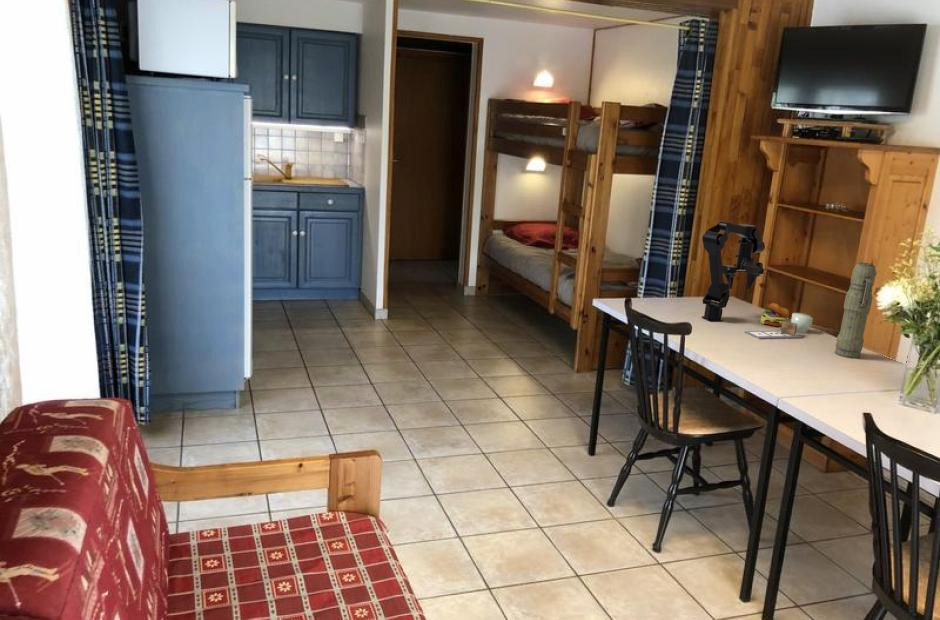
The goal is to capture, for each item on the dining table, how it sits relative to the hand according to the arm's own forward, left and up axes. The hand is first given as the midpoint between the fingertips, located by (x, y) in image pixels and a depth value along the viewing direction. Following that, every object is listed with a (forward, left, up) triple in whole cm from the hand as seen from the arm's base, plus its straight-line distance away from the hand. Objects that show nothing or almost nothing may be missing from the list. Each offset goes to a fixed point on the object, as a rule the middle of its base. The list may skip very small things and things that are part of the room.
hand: (739, 288), depth 337 cm
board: (-3, -30, -12) cm, 32 cm away
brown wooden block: (+4, -30, -11) cm, 32 cm away
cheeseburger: (+9, -14, -12) cm, 21 cm away
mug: (+14, -25, -12) cm, 31 cm away
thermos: (+9, -56, -12) cm, 58 cm away
